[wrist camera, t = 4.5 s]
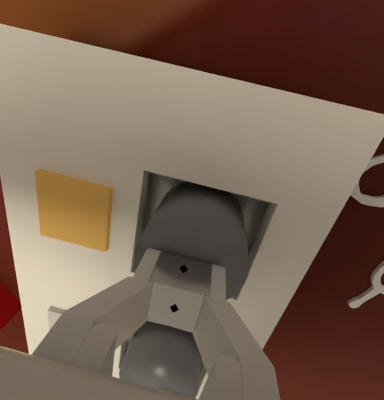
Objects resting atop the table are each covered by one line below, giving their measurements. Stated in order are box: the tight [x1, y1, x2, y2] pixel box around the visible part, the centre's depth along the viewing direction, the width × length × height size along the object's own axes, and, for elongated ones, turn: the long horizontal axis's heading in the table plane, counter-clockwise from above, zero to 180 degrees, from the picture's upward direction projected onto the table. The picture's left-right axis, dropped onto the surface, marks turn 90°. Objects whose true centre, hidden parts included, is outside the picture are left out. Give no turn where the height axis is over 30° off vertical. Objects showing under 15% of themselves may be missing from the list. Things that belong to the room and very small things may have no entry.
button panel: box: [0, 24, 384, 399], centre depth 16 cm, size 14×30×5 cm, turn 168°
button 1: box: [135, 181, 249, 300], centre depth 11 cm, size 4×4×4 cm
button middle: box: [119, 321, 202, 399], centre depth 14 cm, size 4×4×4 cm
